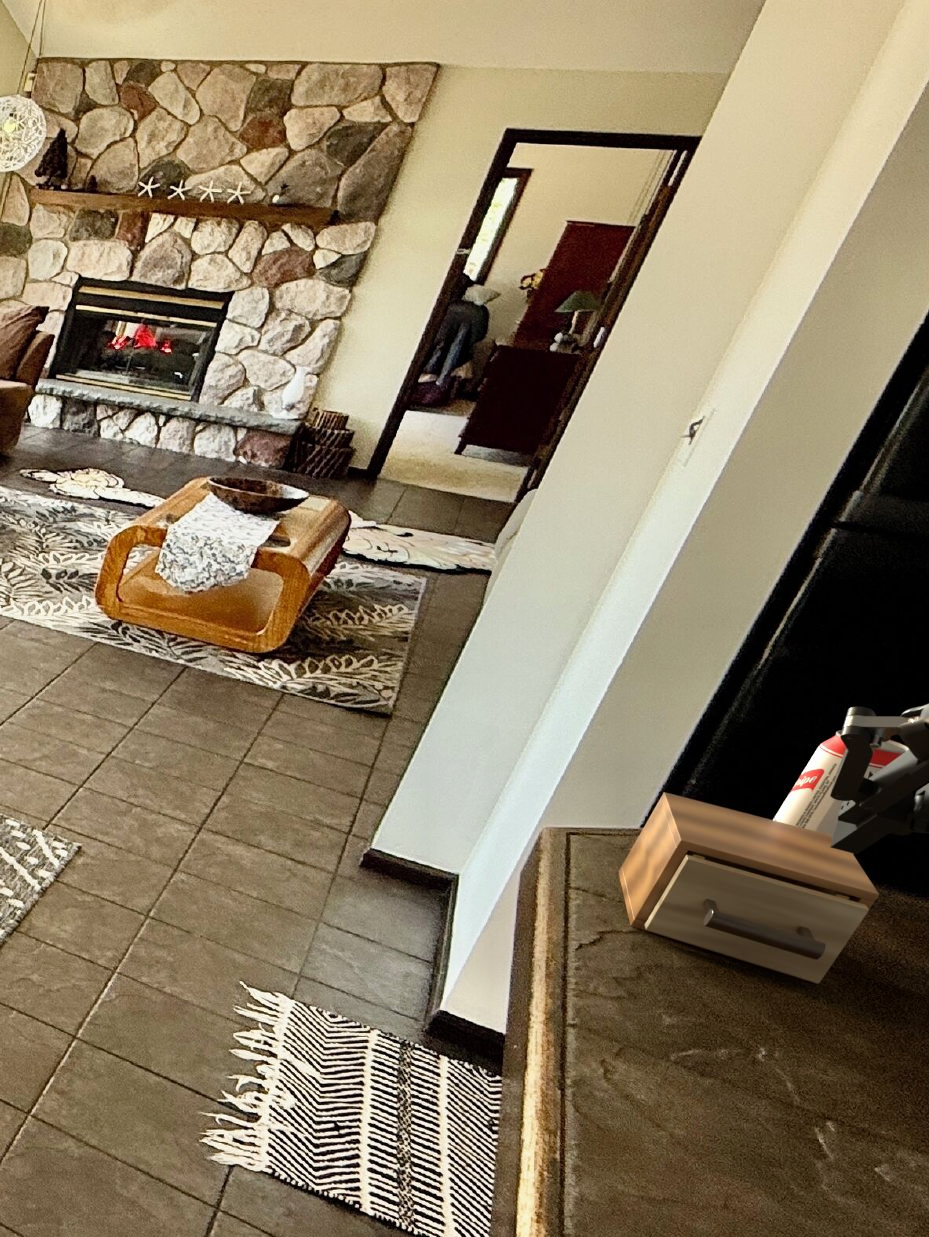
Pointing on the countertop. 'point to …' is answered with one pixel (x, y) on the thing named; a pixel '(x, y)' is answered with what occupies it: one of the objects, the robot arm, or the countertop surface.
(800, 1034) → the countertop surface
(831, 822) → the beer can
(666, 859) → the cabinet
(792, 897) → the drawer
